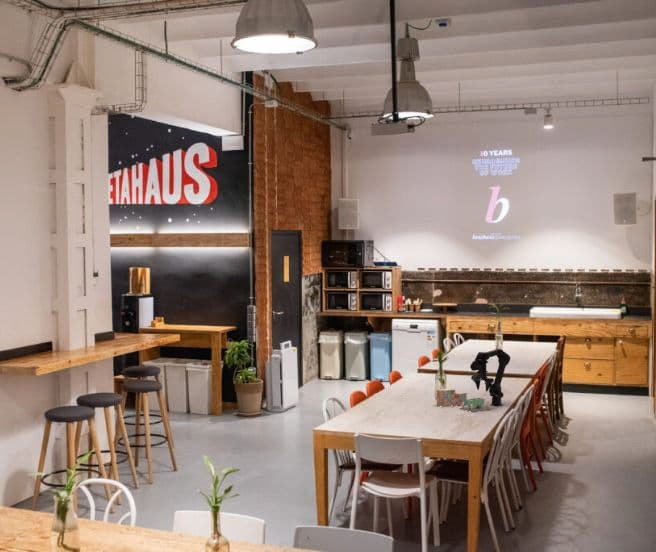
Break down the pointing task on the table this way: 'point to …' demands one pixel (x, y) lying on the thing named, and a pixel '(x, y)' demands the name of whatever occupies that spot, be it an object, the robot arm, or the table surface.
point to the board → (475, 401)
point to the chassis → (475, 408)
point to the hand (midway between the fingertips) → (482, 390)
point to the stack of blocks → (450, 397)
